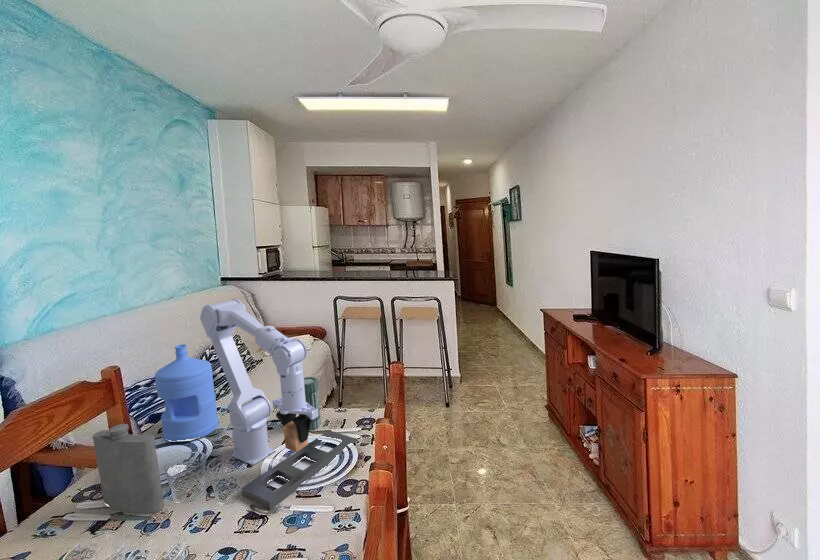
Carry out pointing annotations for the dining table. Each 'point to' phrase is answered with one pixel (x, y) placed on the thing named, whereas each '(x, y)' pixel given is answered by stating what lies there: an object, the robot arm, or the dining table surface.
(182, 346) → the water jug
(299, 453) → the grey flat perforated plate
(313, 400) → the can
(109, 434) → the hip flask
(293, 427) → the square block
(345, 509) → the dining table surface
